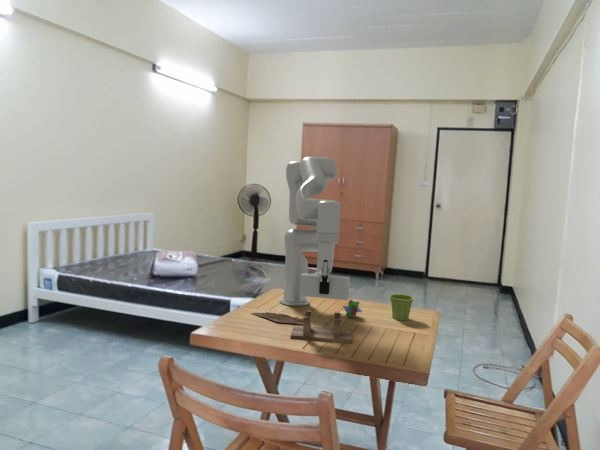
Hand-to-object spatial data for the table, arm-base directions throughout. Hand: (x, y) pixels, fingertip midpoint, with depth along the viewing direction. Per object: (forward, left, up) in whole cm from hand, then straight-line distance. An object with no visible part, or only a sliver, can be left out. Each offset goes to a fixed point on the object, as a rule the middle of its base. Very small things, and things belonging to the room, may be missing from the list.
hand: (324, 291), depth 159 cm
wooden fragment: (-16, -16, -16) cm, 28 cm away
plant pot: (-29, +30, -15) cm, 44 cm away
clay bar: (0, 0, -2) cm, 2 cm away
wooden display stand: (0, 0, -15) cm, 15 cm away
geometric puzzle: (-26, +11, -15) cm, 32 cm away
